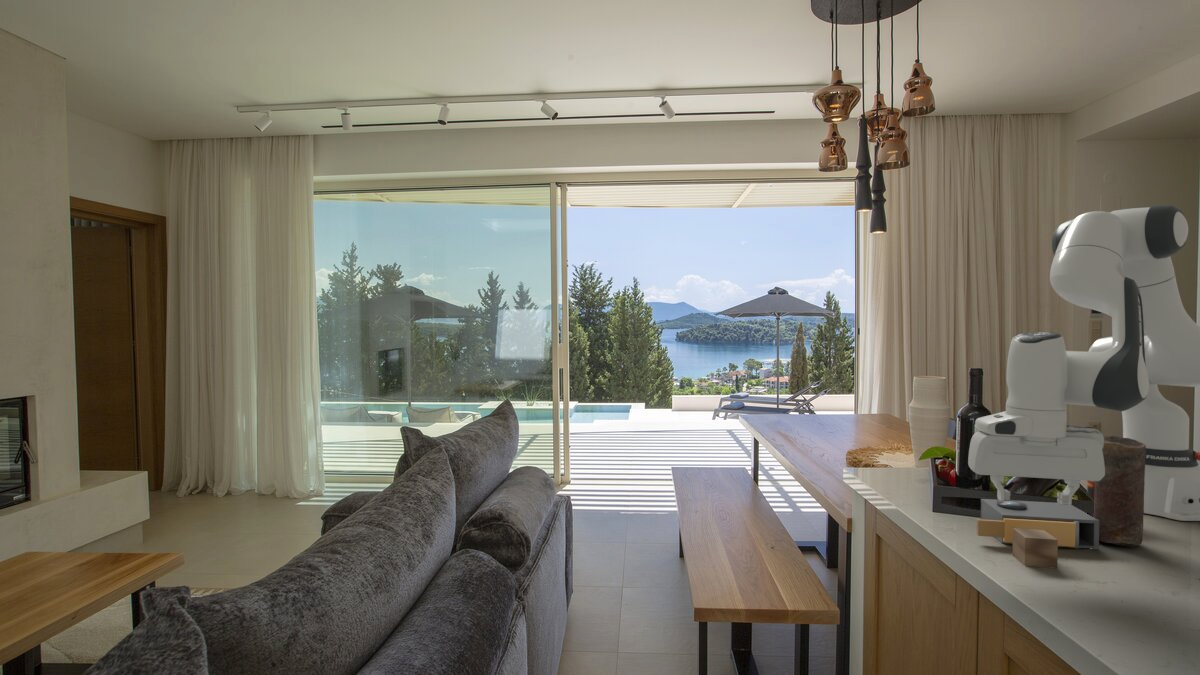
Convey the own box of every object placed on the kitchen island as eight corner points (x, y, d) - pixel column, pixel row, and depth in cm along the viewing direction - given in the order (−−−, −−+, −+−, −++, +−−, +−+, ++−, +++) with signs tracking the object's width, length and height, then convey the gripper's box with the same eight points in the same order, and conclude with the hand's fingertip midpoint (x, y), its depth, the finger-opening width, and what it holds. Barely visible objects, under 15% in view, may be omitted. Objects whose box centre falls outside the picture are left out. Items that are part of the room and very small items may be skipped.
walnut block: (1043, 557, 111) (1044, 530, 111) (1057, 568, 107) (1057, 539, 106) (1012, 555, 113) (1012, 528, 112) (1024, 566, 108) (1024, 537, 108)
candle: (1136, 539, 120) (1137, 437, 119) (1150, 552, 113) (1152, 444, 113) (1087, 534, 123) (1088, 434, 122) (1098, 546, 116) (1100, 440, 116)
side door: (1077, 546, 115) (1077, 521, 115) (1079, 548, 114) (1080, 522, 114) (976, 540, 119) (976, 515, 119) (978, 541, 118) (978, 516, 118)
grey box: (1068, 530, 125) (1068, 500, 125) (1098, 549, 115) (1099, 517, 115) (980, 524, 129) (981, 495, 129) (1002, 543, 118) (1002, 511, 118)
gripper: (1093, 423, 110) (1091, 501, 110) (965, 419, 114) (964, 493, 115) (1114, 429, 103) (1112, 511, 104) (978, 424, 108) (976, 503, 108)
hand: (1033, 502), depth 109 cm, fingers open, 8 cm apart
